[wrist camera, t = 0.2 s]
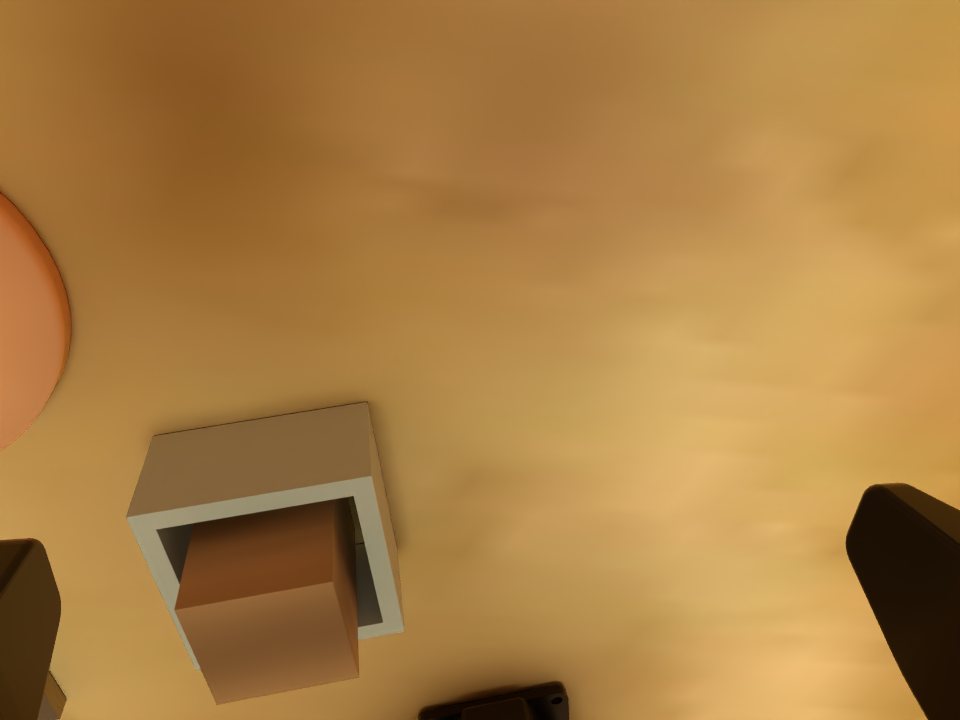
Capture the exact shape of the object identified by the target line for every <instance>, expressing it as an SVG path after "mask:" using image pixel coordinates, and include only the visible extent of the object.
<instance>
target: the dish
mask: <svg viewBox="0 0 960 720" xmlns="http://www.w3.org/2000/svg"><path fill="white" fill-rule="evenodd" d="M70 340H71V315H70V310H69V304H68V299H67V294H66V291H65V288H64V285H63V282H62V279H61V276H60V273H59V271H58V269H57V267H56V265H55V263H54V261H53V259H52V257H51V255H50V253H49V251H48V249H47V248H46V246H45V245H44V243H43V242H42V240H41V239H40V237H39V236H38V234H37V233H36V231H35V230H34V229H33V227H32V226H31V225H30V224H29V222H28V221H27V220H26V219H25V218H24V217H23V215H22V214H21V213H20V212H19V211H18V210H17V208H16V207H15V206H14V205H13V204H12V203H11V202H10V201H9V200H8V199H7V198H6V197H5V196H3V195H2V194H1V193H0V450H2V449H3V448H5V447H6V446H8V445H9V444H11V443H13V442H14V441H15V440H16V439H17V438H18V437H19V436H20V435H21V434H23V433H24V432H25V431H26V430H27V429H28V428H29V427H30V425H31V424H32V423H33V422H34V420H35V419H36V418H37V417H38V415H39V414H40V412H41V411H42V409H43V407H44V405H45V404H46V402H47V400H48V398H49V397H50V395H51V393H52V391H53V389H54V388H55V386H56V384H57V382H58V380H59V378H60V377H61V375H62V373H63V370H64V367H65V364H66V361H67V358H68V354H69V347H70Z"/></svg>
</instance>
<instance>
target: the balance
mask: <svg viewBox="0 0 960 720" xmlns="http://www.w3.org/2000/svg"><path fill="white" fill-rule="evenodd" d="M65 702H66V698H65V696H64V695H63V693H62V691H61V690H60V688H59V687H58V685H57V683H56V682H55V680H54V679H53V677H52V675H51V674H50V672H48V676H47V681H46V685H45V690H44V694H43V699H42V704H41V708H40V713H39V717H38V720H56V719H60V717H61V714H62V711H63V708H64V705H65Z"/></svg>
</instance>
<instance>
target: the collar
mask: <svg viewBox="0 0 960 720" xmlns="http://www.w3.org/2000/svg"><path fill="white" fill-rule="evenodd" d="M350 496H354V500H355V504H356V508H357V513H358V517H359V521H360V525H361V530H362V534H363V538H364V543H363V544H358V545H356V580H357V618H358V640H362V639H367V638H372V637H378V636H383V635H388V634H394V633H399V632H404V631H405V630H404V619H403V608H402V597H401V585H400V574H399V563H398V552H397V546H396V541H395V536H394V531H393V526H392V521H391V516H390V511H389V506H388V501H387V496H386V491H385V486H384V481H383V477H382V472H381V467H380V462H379V457H378V452H377V447H376V442H375V437H374V432H373V427H372V422H371V417H370V412H369V407H368V402H363V403H357V404H350V405H344V406H338V407H332V408H325V409H319V410H313V411H307V412H300V413H294V414H288V415H282V416H275V417H269V418H263V419H257V420H250V421H244V422H238V423H232V424H226V425H219V426H213V427H207V428H201V429H194V430H188V431H182V432H176V433H169V434H163V435H157V436H153V438H152V441H151V444H150V447H149V450H148V453H147V456H146V459H145V462H144V465H143V468H142V471H141V474H140V477H139V480H138V483H137V486H136V489H135V492H134V495H133V498H132V501H131V504H130V507H129V510H128V513H127V516H126V519H127V521H128V523H129V525H130V527H131V529H132V532H133V534H134V536H135V538H136V540H137V543H138V545H139V547H140V549H141V551H142V554H143V556H144V558H145V560H146V562H147V564H148V567H149V569H150V571H151V573H152V575H153V578H154V580H155V582H156V584H157V586H158V588H159V591H160V593H161V595H162V597H163V599H164V602H165V604H166V606H167V608H168V610H169V612H170V615H171V617H172V619H173V621H174V623H175V626H176V628H177V630H178V632H179V634H180V636H181V639H182V641H183V643H184V645H185V647H186V650H187V652H188V654H189V656H190V658H191V661H192V663H193V665H194V667H195V669H196V670H201V668H200V666H199V664H198V662H197V660H196V657H195V655H194V653H193V651H192V649H191V646H190V644H189V642H188V640H187V638H186V635H185V633H184V631H183V629H182V626H181V624H180V622H179V620H178V618H177V615H176V613H175V611H174V609H175V604H176V600H177V596H178V591H179V587H180V582H181V578H182V574H183V569H184V565H185V560H186V556H187V552H188V547H189V543H190V538H191V534H192V529H193V525H194V523H197V522H203V521H209V520H215V519H221V518H227V517H232V516H238V515H244V514H250V513H256V512H262V511H268V510H273V509H279V508H285V507H291V506H297V505H303V504H309V503H315V502H320V501H326V500H332V499H338V498H344V497H350Z"/></svg>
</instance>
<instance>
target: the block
mask: <svg viewBox="0 0 960 720" xmlns="http://www.w3.org/2000/svg"><path fill="white" fill-rule="evenodd" d="M174 611H175V613H176V615H177V618H178V620H179V622H180V624H181V626H182V629H183V631H184V633H185V635H186V638H187V640H188V642H189V644H190V646H191V649H192V651H193V653H194V655H195V657H196V660H197V662H198V664H199V666H200V668H201V671H202V673H203V675H204V677H205V680H206V682H207V684H208V686H209V688H210V691H211V693H212V695H213V697H214V699H215V702H216V704H217V705H218V704H223V703H229V702H234V701H239V700H244V699H249V698H255V697H260V696H265V695H270V694H276V693H281V692H286V691H291V690H297V689H302V688H307V687H312V686H317V685H323V684H328V683H333V682H338V681H344V680H349V679H354V678H359V656H358V618H357V580H356V542H355V526H354V522H353V518H352V514H351V510H350V506H349V501H348V497H344V498H338V499H332V500H326V501H320V502H315V503H309V504H303V505H297V506H291V507H285V508H279V509H273V510H268V511H262V512H256V513H250V514H244V515H238V516H232V517H227V518H221V519H215V520H209V521H203V522H197V523H194V525H193V529H192V534H191V538H190V543H189V547H188V552H187V556H186V560H185V565H184V569H183V574H182V578H181V582H180V587H179V591H178V596H177V600H176V604H175V609H174Z"/></svg>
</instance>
